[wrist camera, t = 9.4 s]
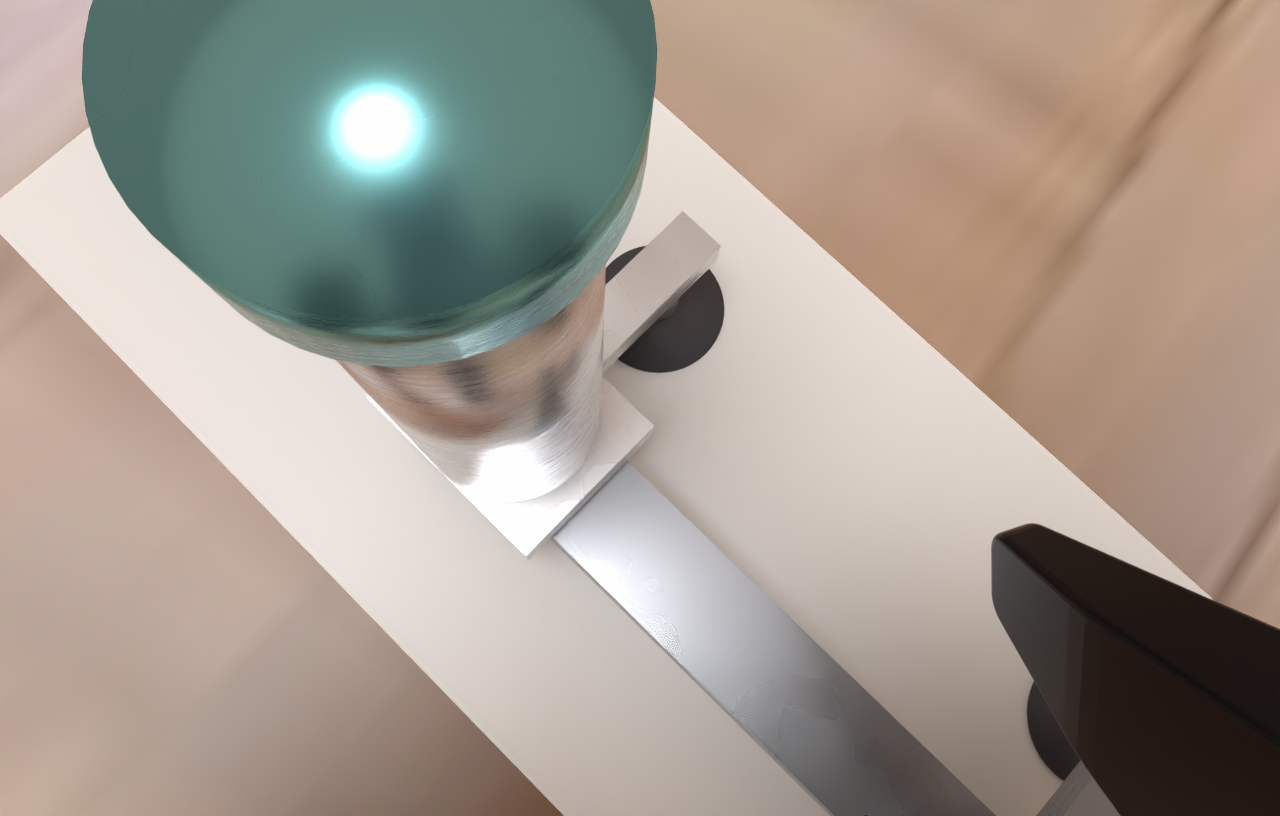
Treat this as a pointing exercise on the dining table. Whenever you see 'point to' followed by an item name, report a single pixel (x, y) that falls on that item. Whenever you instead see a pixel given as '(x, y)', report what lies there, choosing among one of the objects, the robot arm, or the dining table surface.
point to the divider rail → (769, 664)
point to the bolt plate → (675, 465)
